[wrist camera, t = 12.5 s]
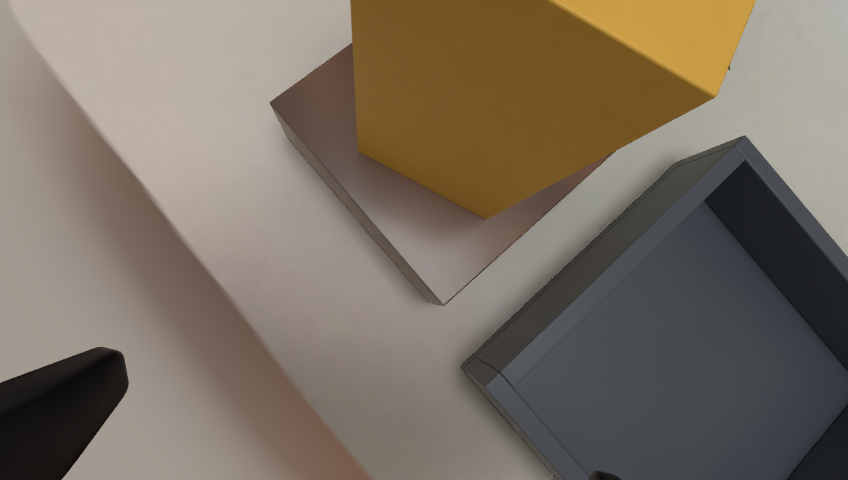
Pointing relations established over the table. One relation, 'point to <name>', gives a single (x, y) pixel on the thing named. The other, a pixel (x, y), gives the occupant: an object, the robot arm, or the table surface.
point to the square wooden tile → (401, 190)
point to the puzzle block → (527, 85)
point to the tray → (686, 338)
